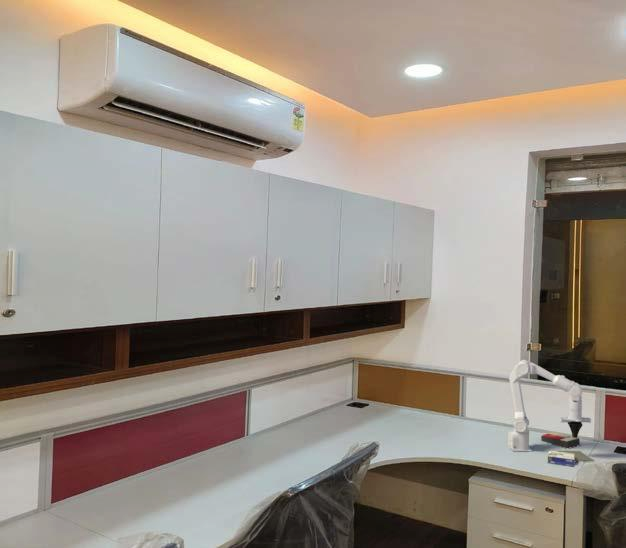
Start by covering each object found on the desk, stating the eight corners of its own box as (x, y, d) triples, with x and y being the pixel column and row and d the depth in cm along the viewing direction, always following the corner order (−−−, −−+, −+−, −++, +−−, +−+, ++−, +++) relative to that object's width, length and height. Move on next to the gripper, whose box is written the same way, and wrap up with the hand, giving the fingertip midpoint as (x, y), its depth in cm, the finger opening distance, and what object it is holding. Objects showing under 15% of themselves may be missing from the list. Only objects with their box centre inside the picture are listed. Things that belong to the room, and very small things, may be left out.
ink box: (574, 453, 265) (574, 461, 255) (574, 458, 265) (574, 466, 255) (548, 449, 270) (547, 458, 260) (548, 454, 270) (547, 463, 260)
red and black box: (553, 431, 300) (579, 437, 288) (553, 439, 300) (580, 445, 288) (540, 434, 294) (567, 440, 282) (541, 442, 294) (567, 449, 282)
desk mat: (571, 461, 262) (571, 460, 262) (557, 451, 276) (557, 450, 276) (594, 461, 262) (594, 460, 262) (579, 452, 276) (579, 450, 276)
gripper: (564, 411, 265) (563, 439, 265) (594, 411, 265) (594, 439, 265) (557, 407, 272) (556, 435, 272) (586, 407, 272) (586, 435, 272)
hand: (574, 437), depth 269 cm, fingers closed
